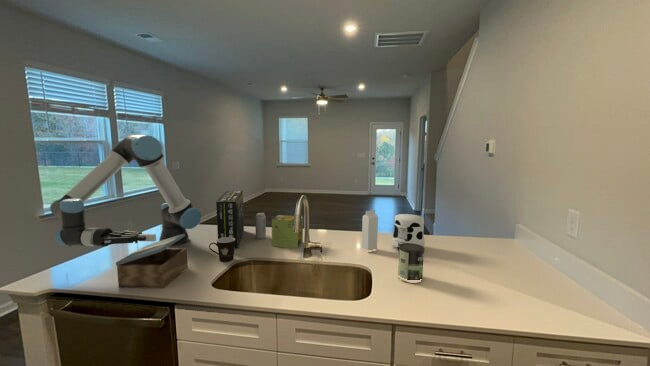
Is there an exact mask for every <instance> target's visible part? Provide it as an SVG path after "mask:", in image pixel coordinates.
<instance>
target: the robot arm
mask: <svg viewBox="0 0 650 366" xmlns="http://www.w3.org/2000/svg"><path fill="white" fill-rule="evenodd" d="M162 151H163V147H162V143H161V142H160V140H158V139H157V138H156V137H154V136H152V135H148V134H132V135H128V136H126V137H124V138H123V139H121V140H120V141H119V142H118V143H117V144H116V145H114V147H113V148H111V149H110V151H109V154H108V156H106V157H105V158H104V159H102V161H101V162H100V163H99V164H97V165H96V166H95V167H94V168H93V169H91V171H90V172H88V174H86V175H85V176H84V177H83V178H82V179H81V180H80V181H79V182H77V183H76V184H75V185H74V186H73V187H72V188H71V189H70V190H68V191H67V192H66V193H65V194H64V195H63V196H62V197H61V198H59V199H56V200H54V201H53V202H52V203H51V204H50V206H49V210H50V212H51V213H52V215H54V216H55V217H57V218H59V219H60V220H61V227H60V228H59V229H58V230H57V231H56V233H55V234H56V235H55V236H54V240H55V242H56V244H58V245H59V246H68V247H78V246H79V247H83V246H84V247H91V248H93V247H108V246H109V245H120V244H121V245H123V244H133V243H135V244H138V242H156V241H157V234H155V233H143V232H142V231H133V230H127V229H124V230H123V231H118V230H115V231H113V230H112V229H111V228H109V227H86V216H85V215H86V214H85V213H86V212H85V207H86V206H85V203H86V201H88V200H89V199H90V198H91V197H92V196H93V195H95V193H96V192H97V191H98V190H99V189H101V187H103V186H104V185H105V184H106V183H107V182H108V180H110V179H111V178H112V177H113V176H115V174H116V173H118V172H119V170H121V169H122V168H123V167H124V166H128V165H129V164H131V162H133V161H135V162H136V163H137V165H138V166H139V168H142V169H144V170H145V171H146V173H147V174H148V175H149V178H150V179H151V180H152V181H153V184H154V185H155V187H156V188H157V190H158V191H159V193H160V194H161V196H162V198H163V199H164V201H165V202H164V203H162V204H161V206H160V211H161V213H160V214H161V228H162V229H161V232H160V236H159V241H162V240H165V239H168V238H171V237H175V236H178V235H181V234H184V233H185V237H183V238H181V239H180V240H178V241H177V242H175V243H174V244H172V245H171V246H176V245H181V244H184V243H186V242H188V241H189V240H190V238H189V237H190V235H189V233H188V231H187V230H190V229H194V228H195V227H197V226H198V225H199V223H200V222H201V219H202V213H201V211H200V210H199V209H198V208H197V207H195V206H194V205H193V204H192V201H191V200H190V199H187V198H185V196H184V195H183V192H182V191H181V189H180V187H179V185H178V184H177V183H176V181H175V180H174V178H173V176H172V174H171V173H170V171H169V169H168V167H167V166H166V164H165V163H164V160H163V159H164V157H165V156H164V154H163V152H162ZM159 241H158V242H159Z"/></svg>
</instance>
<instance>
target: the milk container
mask: <svg viewBox="0 0 650 366" xmlns="http://www.w3.org/2000/svg"><path fill="white" fill-rule="evenodd" d="M393 226H394V227H393V229H394V230H393V233H392V239H391V240H392V241H391V243H392V246H393V247H394V248H395V249H396V248H398V249H397V250H399V245H400V244H403V243H413V244H418V245H421V246H423V247H424V248H425V243H426V242H425V235H424V231H425V230H424V228H425V218H424V216H422V215H418V214H411V213H401V214H399V213H398V214H396V215H395V216H394V225H393Z"/></svg>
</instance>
